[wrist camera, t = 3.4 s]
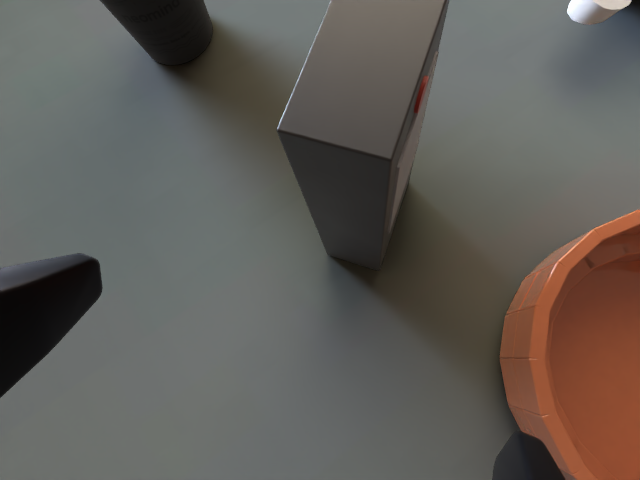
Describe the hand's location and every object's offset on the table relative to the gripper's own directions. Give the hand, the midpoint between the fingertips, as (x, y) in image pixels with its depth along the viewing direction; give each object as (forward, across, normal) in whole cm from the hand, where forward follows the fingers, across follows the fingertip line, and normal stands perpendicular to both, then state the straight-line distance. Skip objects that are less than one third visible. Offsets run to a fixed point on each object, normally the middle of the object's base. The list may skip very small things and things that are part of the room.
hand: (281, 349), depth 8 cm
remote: (+15, +1, +4) cm, 16 cm away
